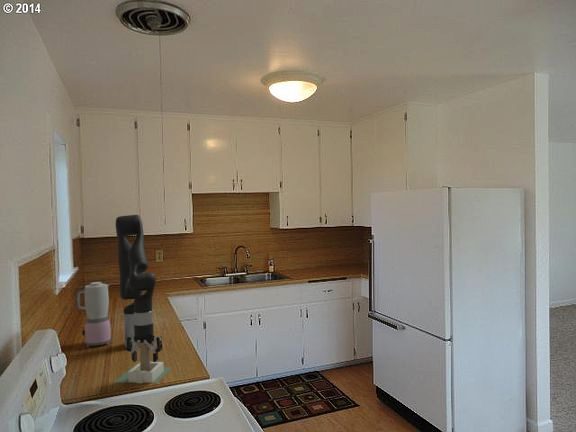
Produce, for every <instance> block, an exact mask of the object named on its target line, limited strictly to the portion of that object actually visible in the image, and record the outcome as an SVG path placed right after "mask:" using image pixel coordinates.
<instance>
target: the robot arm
mask: <svg viewBox="0 0 576 432" xmlns="http://www.w3.org/2000/svg"><path fill="white" fill-rule="evenodd" d="M115 232H116V238H117V248H118V249H117V253H118V254H117V256H118V257H117V258H118V268H119V296H120V298H121V299H122V300H127V301H128V300H133V302H132V303H129V304H128V305H126V306H124V307H123V328H124V329H123V332H124V348H126V351H127V352H130V353H131V361H132V362H134V363H136V362H137V361H138V349H139V347H138V346H137V345H136V342H137V343H140V342H144V343H146V345H147V347H148V348H149V351H151V352H152V362H158V360H159V353H160V352H161V351H162V350H163V339H162V335H158V336H156V335H154V332H155V331H154V329H155V327H154V326H155V325H154V313H153V297H154V291H155V287H156V284H157V278H156V275H155V274H154V273H153V272H146V271H147V270H148V268H149V265H148V260H147V255H146V250H145V235H144V227H143V221H142V218H141V216H140V215H139V214H130V215H128V214H127V215H121V216H118V217H116V219H115ZM132 236H135V239H134V241H133V244H132V243H130V242H129V241H128V239H127V238H126V237H132ZM144 291H145V292H144ZM143 292H144V293H143ZM152 342H153V344H152V345H151V343H152Z"/></svg>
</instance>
